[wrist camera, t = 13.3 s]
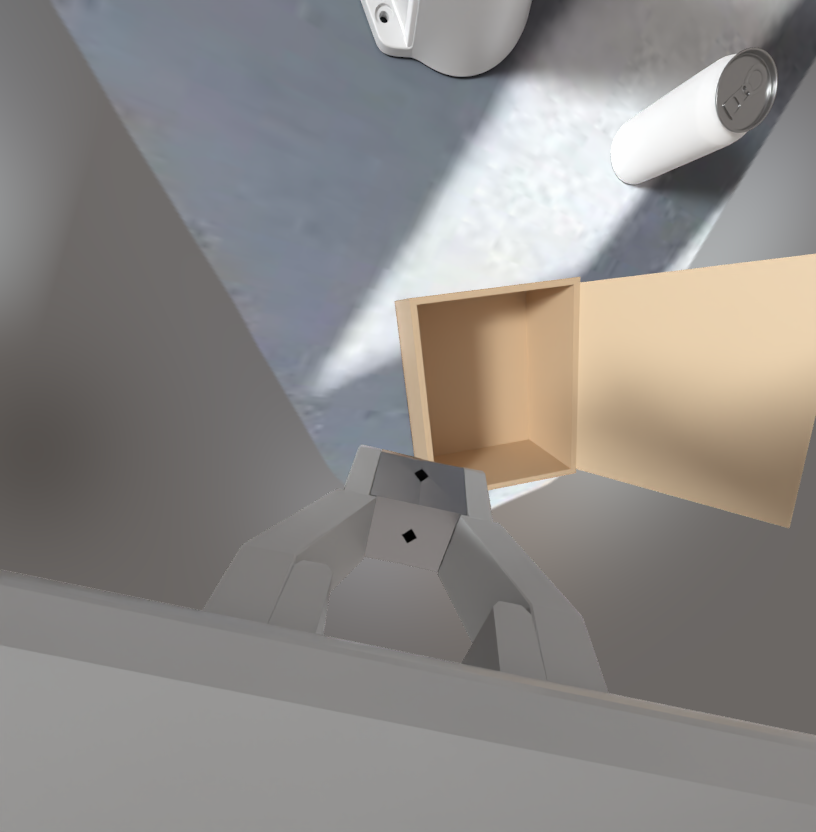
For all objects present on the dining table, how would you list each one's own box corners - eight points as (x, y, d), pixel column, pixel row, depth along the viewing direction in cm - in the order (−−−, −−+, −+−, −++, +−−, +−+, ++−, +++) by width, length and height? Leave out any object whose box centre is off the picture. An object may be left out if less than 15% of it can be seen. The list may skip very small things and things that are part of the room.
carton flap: (789, 528, 27) (789, 525, 27) (853, 249, 21) (854, 248, 21) (576, 468, 39) (577, 467, 39) (580, 282, 33) (582, 282, 33)
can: (670, 151, 41) (796, 89, 29) (630, 199, 41) (737, 157, 30) (638, 103, 39) (759, 17, 27) (596, 154, 40) (697, 92, 28)
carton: (415, 462, 46) (432, 501, 37) (394, 301, 40) (409, 298, 31) (531, 441, 48) (575, 472, 39) (528, 284, 42) (580, 276, 33)
